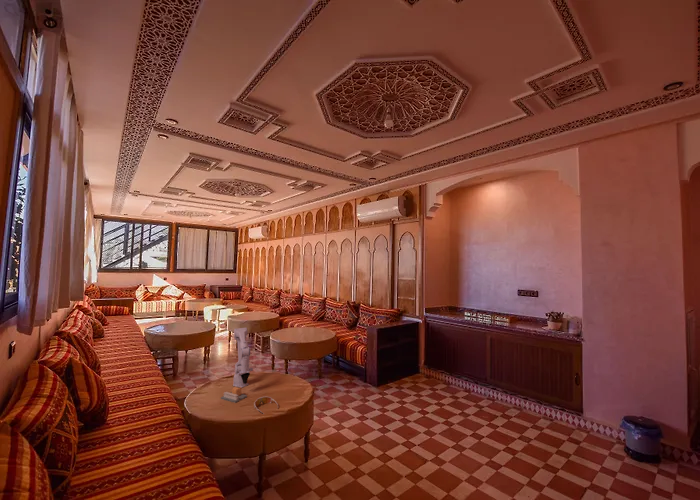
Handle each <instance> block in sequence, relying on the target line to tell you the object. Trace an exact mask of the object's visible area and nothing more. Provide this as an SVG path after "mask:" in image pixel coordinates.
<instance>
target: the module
mask: <svg viewBox="0 0 700 500" xmlns="http://www.w3.org/2000/svg"><path fill="white" fill-rule="evenodd" d="M242 389H243V387H238V386H237V387H236V386H234V387H233V388H231V392H232V394H236V395H238V396H239V395H241V394H242Z"/></svg>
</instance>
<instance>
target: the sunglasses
mask: <svg viewBox="0 0 700 500" xmlns="http://www.w3.org/2000/svg"><path fill="white" fill-rule="evenodd" d="M272 401H273V402H275V404H276V405H277V406H276V407H279V404H278V402H277V401H276V400H275V399H274V398H273V397H270V396H268V395H267V396H266V395H265V396H260V397H258V398H257V399H256V400H255V401H254V402H253V408H254V409H256V410H257V411H258V412H260V414H262V415H265V413H264V412H262V411H261V410H260V409H259V408H258V406H260V405H261V404H263V405H264V404H272Z"/></svg>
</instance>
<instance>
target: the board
mask: <svg viewBox="0 0 700 500" xmlns="http://www.w3.org/2000/svg"><path fill="white" fill-rule="evenodd" d="M245 398H248V395H247V394H243V393H241V395H239V396H238V395H236V394H232V391H231V392H229V391H224V392H223V396H221V397H220V400H223V401H227V402H231V403H234V404H236V403H238V402H240V401H242V400H244V399H245Z"/></svg>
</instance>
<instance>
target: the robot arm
mask: <svg viewBox="0 0 700 500" xmlns="http://www.w3.org/2000/svg"><path fill="white" fill-rule="evenodd" d="M247 337H248V327H239V328H236V327H235V328H234V329H233V338H234V341H235V340H236V342H237V358H238V361H237V362H236V363H235V364H234V375H233V384H232V386H233V387H237V386H238V387H242V388H244V387H247V386H248V385H250V384H249V383H248V379H249V377H250V374H251V372H253V371H254V368H253V367H250V356H251V348H250V347H249V344H248V341H247Z"/></svg>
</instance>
